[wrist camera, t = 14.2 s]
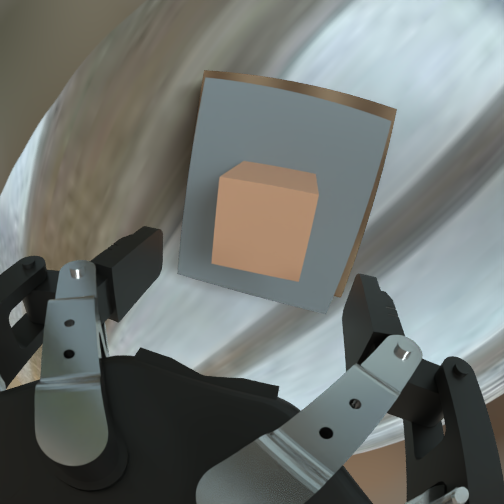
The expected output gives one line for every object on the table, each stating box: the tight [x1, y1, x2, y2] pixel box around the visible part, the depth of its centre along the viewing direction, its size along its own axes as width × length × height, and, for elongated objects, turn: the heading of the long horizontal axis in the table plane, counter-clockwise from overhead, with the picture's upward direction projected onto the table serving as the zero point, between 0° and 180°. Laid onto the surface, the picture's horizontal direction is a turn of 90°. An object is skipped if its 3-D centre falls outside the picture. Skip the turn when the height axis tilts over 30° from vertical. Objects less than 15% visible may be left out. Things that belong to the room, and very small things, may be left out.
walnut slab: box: [192, 70, 397, 297], centre depth 26 cm, size 16×18×4 cm
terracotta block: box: [211, 161, 319, 282], centre depth 18 cm, size 5×5×6 cm
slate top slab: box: [178, 78, 391, 314], centre depth 23 cm, size 13×16×4 cm
